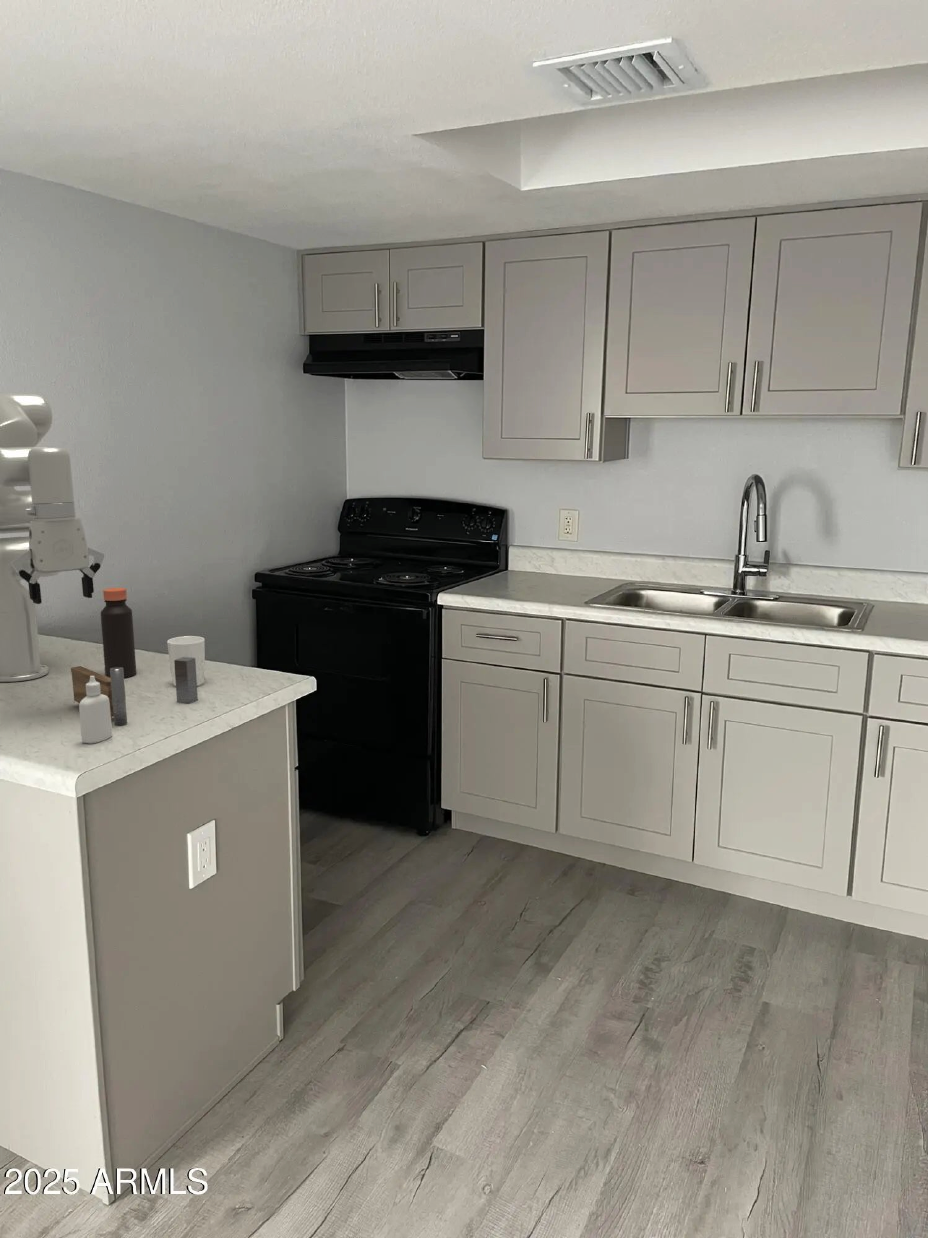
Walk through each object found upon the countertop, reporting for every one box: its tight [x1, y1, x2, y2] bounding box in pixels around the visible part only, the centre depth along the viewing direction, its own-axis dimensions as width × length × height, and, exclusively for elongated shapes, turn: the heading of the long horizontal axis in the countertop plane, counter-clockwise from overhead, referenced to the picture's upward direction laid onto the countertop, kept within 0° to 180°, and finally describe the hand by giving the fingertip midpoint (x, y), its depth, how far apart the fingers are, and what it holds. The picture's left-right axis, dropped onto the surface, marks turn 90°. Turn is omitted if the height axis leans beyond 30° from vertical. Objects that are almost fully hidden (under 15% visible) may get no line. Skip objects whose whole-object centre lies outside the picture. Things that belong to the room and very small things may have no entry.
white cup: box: [166, 635, 206, 687], centre depth 213 cm, size 8×8×10 cm
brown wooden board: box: [70, 665, 114, 718], centre depth 192 cm, size 2×16×7 cm, turn 45°
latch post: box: [174, 657, 199, 704], centre depth 200 cm, size 3×3×9 cm
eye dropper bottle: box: [78, 676, 113, 744], centre depth 176 cm, size 4×6×12 cm
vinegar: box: [100, 587, 137, 679], centre depth 219 cm, size 7×7×20 cm
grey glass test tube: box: [110, 667, 128, 727], centre depth 185 cm, size 2×2×11 cm
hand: (62, 600), depth 189 cm, fingers open, 9 cm apart
